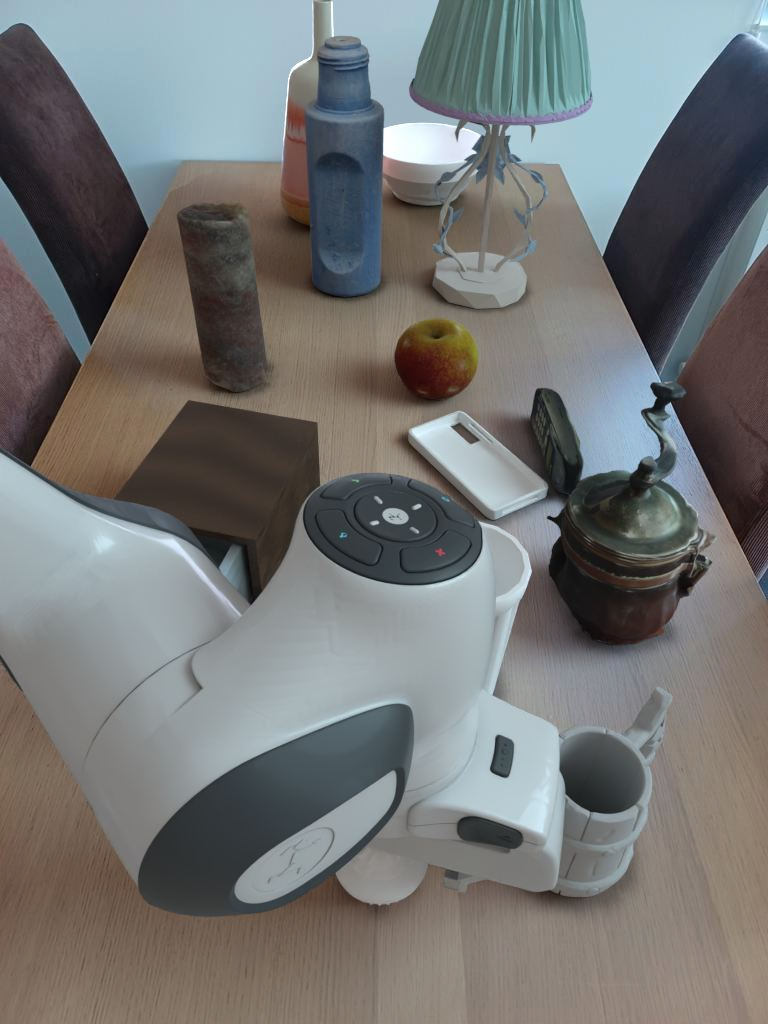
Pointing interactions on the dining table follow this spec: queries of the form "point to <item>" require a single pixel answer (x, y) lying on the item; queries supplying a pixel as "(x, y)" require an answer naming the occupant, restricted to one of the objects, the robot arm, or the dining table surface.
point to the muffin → (381, 876)
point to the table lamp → (499, 114)
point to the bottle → (345, 171)
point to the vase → (302, 119)
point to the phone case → (478, 466)
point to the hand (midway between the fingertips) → (382, 858)
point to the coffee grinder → (630, 543)
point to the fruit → (436, 358)
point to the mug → (606, 797)
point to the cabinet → (232, 479)
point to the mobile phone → (557, 440)
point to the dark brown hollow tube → (224, 293)
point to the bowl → (425, 160)
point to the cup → (505, 592)
